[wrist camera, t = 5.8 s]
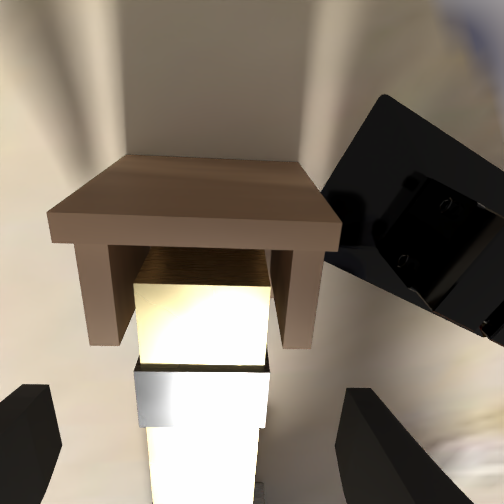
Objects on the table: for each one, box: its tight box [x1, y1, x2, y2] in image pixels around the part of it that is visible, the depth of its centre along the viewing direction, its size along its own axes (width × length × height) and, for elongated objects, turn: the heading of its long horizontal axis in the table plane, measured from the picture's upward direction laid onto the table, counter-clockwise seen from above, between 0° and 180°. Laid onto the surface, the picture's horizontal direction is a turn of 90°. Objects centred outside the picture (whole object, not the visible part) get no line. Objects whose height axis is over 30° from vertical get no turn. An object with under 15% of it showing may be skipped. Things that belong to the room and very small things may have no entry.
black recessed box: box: [320, 94, 504, 347], centre depth 12 cm, size 12×7×5 cm, turn 61°
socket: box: [47, 155, 342, 349], centre depth 10 cm, size 5×5×6 cm
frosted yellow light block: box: [133, 246, 271, 504], centre depth 13 cm, size 14×4×4 cm, turn 177°
